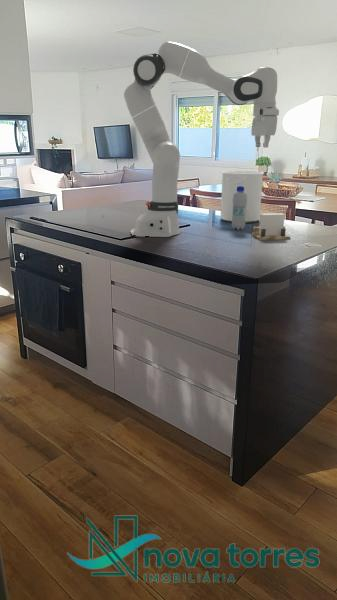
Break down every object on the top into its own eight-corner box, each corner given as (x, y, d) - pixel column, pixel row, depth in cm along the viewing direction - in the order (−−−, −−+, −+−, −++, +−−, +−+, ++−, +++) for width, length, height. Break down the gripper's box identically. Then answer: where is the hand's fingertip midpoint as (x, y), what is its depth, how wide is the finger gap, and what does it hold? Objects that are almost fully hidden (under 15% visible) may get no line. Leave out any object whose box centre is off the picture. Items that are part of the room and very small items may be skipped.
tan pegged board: (258, 239, 190) (259, 230, 188) (251, 235, 199) (252, 226, 198) (290, 239, 192) (291, 229, 190) (281, 234, 201) (282, 225, 200)
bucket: (232, 215, 251) (235, 169, 243) (268, 219, 239) (272, 171, 231) (209, 221, 231) (211, 172, 223) (247, 226, 220) (250, 174, 211)
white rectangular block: (260, 235, 193) (262, 214, 190) (258, 234, 196) (260, 213, 192) (282, 235, 195) (284, 214, 192) (280, 233, 197) (282, 213, 194)
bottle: (245, 230, 208) (247, 186, 201) (230, 230, 209) (232, 186, 203) (245, 228, 214) (248, 185, 208) (231, 227, 216) (233, 185, 209)
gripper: (248, 112, 192) (246, 146, 197) (265, 110, 173) (262, 147, 178) (262, 113, 193) (260, 146, 198) (280, 110, 174) (277, 147, 179)
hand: (261, 147), depth 188 cm, fingers open, 8 cm apart
